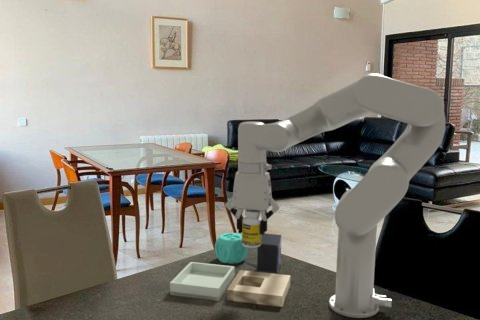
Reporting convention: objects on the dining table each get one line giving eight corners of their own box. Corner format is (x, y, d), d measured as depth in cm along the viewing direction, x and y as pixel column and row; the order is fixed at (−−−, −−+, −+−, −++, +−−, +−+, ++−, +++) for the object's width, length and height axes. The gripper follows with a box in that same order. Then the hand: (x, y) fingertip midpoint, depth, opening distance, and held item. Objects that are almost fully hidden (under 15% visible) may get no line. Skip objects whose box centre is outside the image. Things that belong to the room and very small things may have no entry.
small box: (277, 278, 141) (278, 245, 140) (256, 276, 143) (256, 243, 141) (281, 265, 152) (282, 234, 150) (261, 263, 153) (262, 232, 151)
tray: (234, 277, 142) (234, 266, 141) (218, 300, 127) (218, 288, 126) (190, 272, 145) (190, 261, 145) (170, 294, 130) (169, 282, 129)
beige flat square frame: (290, 285, 137) (290, 275, 136) (282, 307, 123) (282, 296, 123) (240, 279, 140) (240, 270, 140) (226, 300, 127) (226, 289, 126)
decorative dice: (233, 253, 162) (233, 231, 161) (248, 260, 156) (248, 237, 155) (214, 258, 157) (214, 235, 156) (229, 266, 151) (229, 242, 150)
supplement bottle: (239, 247, 128) (240, 212, 127) (243, 240, 133) (245, 207, 132) (258, 249, 127) (260, 214, 125) (262, 242, 132) (264, 208, 131)
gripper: (286, 167, 128) (285, 231, 131) (225, 164, 133) (225, 226, 135) (281, 171, 121) (280, 239, 124) (217, 168, 125) (217, 234, 128)
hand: (251, 232), depth 130 cm, fingers closed on supplement bottle, 5 cm apart
